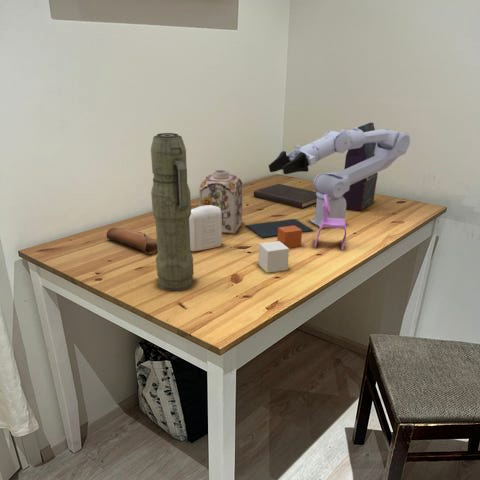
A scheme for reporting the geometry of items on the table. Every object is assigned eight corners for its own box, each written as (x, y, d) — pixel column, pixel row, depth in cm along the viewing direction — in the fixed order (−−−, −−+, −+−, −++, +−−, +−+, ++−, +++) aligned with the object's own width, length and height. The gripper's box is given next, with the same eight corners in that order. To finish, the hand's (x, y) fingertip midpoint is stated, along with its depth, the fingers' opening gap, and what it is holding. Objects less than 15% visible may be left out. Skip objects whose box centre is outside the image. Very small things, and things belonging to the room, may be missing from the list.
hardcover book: (278, 189, 200) (278, 183, 199) (325, 200, 187) (326, 194, 186) (253, 196, 190) (253, 191, 188) (301, 208, 176) (302, 202, 175)
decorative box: (375, 200, 186) (384, 122, 173) (361, 211, 174) (370, 128, 160) (354, 198, 190) (361, 121, 176) (339, 208, 177) (346, 127, 164)
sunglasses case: (168, 245, 142) (158, 229, 136) (154, 263, 139) (143, 247, 134) (128, 232, 151) (117, 216, 146) (114, 248, 149) (102, 233, 144)
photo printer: (216, 242, 146) (216, 201, 140) (224, 246, 143) (223, 205, 137) (186, 248, 141) (184, 206, 135) (193, 253, 138) (191, 210, 132)
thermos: (176, 296, 115) (168, 140, 97) (147, 280, 122) (134, 133, 104) (205, 285, 120) (201, 136, 103) (175, 271, 127) (167, 129, 110)
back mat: (294, 220, 165) (294, 218, 165) (312, 231, 156) (312, 229, 156) (246, 226, 159) (246, 225, 159) (262, 238, 150) (262, 236, 149)
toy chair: (344, 251, 141) (351, 200, 133) (314, 249, 142) (318, 198, 135) (344, 241, 148) (350, 192, 140) (315, 239, 149) (320, 190, 142)
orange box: (293, 241, 148) (294, 225, 145) (300, 246, 144) (302, 230, 142) (277, 243, 146) (277, 227, 143) (284, 248, 142) (285, 232, 140)
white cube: (278, 261, 134) (279, 240, 131) (287, 269, 129) (289, 248, 126) (258, 264, 132) (258, 243, 129) (266, 272, 127) (267, 251, 124)
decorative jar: (208, 220, 164) (207, 165, 155) (242, 222, 162) (243, 167, 153) (199, 231, 154) (197, 174, 145) (235, 234, 152) (235, 176, 143)
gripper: (296, 138, 151) (260, 155, 147) (324, 140, 139) (286, 158, 136) (301, 161, 155) (266, 177, 151) (329, 164, 143) (292, 182, 139)
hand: (276, 169), depth 143 cm, fingers open, 7 cm apart
